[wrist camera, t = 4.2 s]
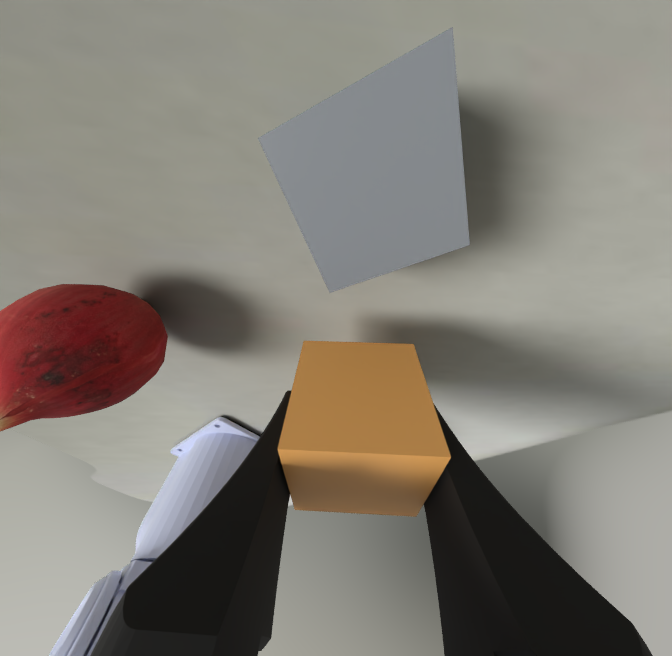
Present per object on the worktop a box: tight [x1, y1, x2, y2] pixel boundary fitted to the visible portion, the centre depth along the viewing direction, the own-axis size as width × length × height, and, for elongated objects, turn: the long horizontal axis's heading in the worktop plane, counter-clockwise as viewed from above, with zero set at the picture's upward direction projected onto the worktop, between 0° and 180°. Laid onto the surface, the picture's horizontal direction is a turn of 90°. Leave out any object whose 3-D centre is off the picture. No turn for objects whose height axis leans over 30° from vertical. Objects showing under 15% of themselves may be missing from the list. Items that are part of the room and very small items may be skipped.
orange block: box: [278, 341, 451, 517], centre depth 10 cm, size 5×5×5 cm
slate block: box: [258, 27, 470, 293], centre depth 8 cm, size 4×4×4 cm
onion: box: [0, 284, 168, 431], centre depth 11 cm, size 6×6×8 cm
